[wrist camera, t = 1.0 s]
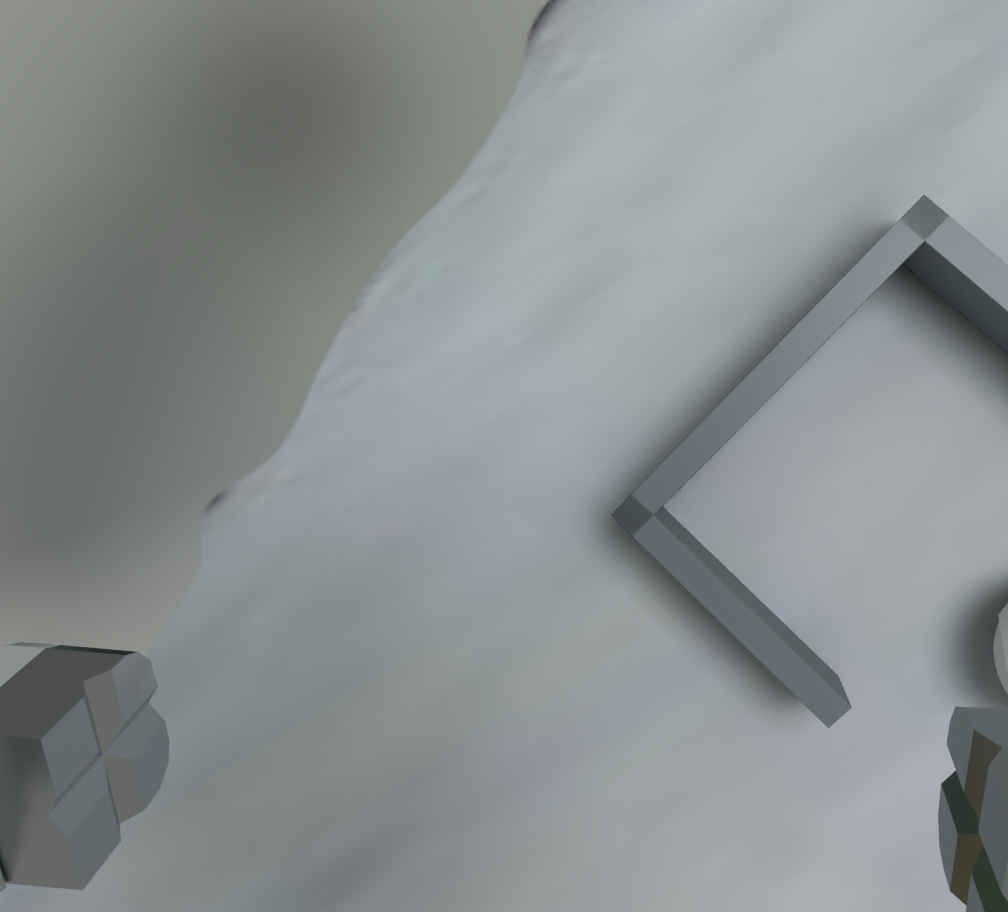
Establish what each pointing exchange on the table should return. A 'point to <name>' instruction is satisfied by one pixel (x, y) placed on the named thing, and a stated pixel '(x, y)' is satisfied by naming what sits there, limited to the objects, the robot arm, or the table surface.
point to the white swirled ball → (1002, 647)
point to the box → (911, 241)
